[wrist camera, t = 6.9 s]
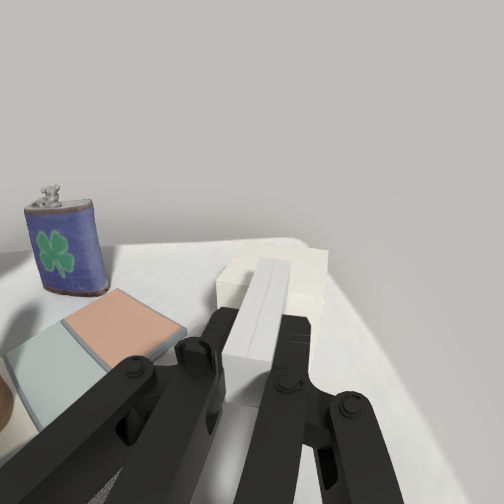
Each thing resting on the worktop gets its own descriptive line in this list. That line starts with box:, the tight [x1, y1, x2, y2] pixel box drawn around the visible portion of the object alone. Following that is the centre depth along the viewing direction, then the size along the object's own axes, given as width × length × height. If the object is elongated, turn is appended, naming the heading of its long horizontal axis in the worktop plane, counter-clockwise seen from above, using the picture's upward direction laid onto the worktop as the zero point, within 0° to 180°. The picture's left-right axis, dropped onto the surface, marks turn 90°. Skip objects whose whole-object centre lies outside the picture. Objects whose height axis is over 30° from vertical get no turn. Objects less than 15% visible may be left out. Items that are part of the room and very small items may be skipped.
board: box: [0, 288, 187, 468], centre depth 14 cm, size 9×20×1 cm, turn 148°
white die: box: [216, 240, 328, 371], centre depth 19 cm, size 6×6×6 cm
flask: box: [24, 185, 109, 297], centre depth 22 cm, size 9×3×11 cm, turn 87°
